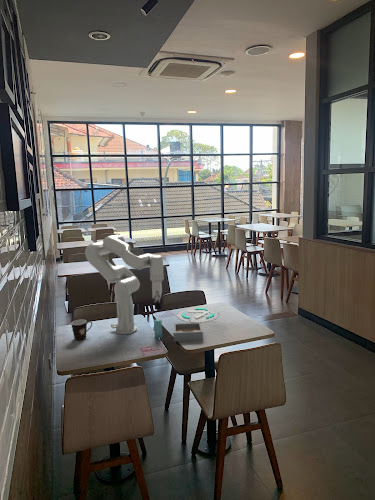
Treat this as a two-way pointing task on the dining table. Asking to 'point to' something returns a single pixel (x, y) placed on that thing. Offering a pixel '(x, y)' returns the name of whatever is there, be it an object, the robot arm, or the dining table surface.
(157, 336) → the peg
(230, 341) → the dining table surface
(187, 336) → the bore box
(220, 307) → the dining table surface
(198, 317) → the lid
